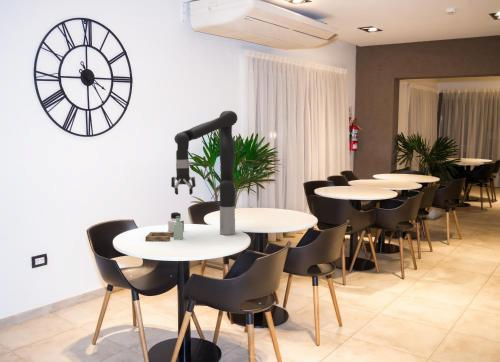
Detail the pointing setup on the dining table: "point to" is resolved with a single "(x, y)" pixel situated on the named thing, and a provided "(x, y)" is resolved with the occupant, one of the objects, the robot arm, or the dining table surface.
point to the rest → (159, 236)
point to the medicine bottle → (172, 222)
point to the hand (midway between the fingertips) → (183, 194)
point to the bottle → (178, 229)
